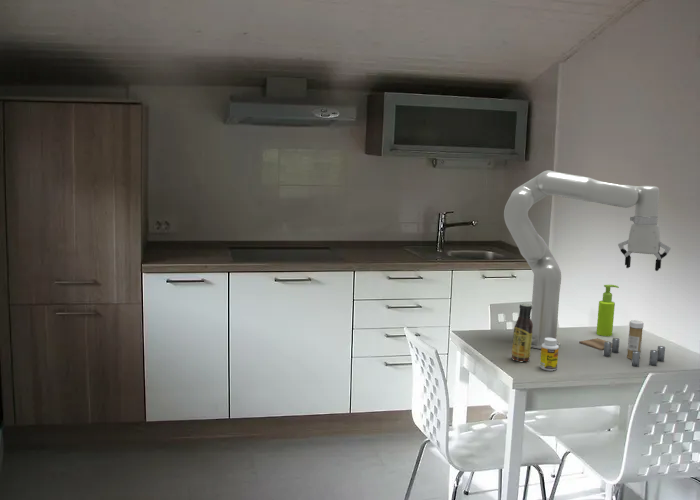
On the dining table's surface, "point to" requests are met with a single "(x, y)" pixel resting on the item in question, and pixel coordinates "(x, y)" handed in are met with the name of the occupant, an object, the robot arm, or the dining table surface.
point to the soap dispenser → (606, 313)
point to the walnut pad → (594, 343)
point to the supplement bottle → (549, 354)
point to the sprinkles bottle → (634, 337)
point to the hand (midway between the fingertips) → (642, 268)
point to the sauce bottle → (522, 334)
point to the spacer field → (635, 353)
